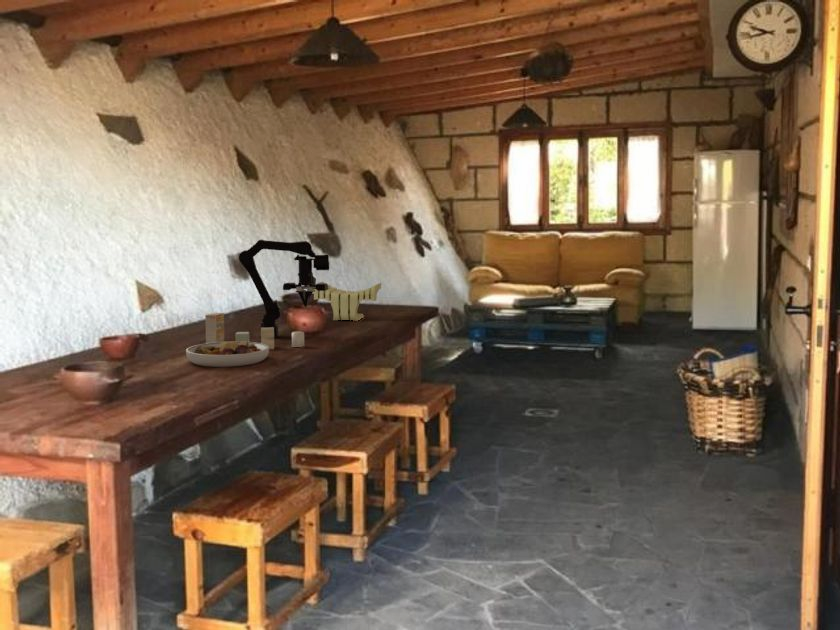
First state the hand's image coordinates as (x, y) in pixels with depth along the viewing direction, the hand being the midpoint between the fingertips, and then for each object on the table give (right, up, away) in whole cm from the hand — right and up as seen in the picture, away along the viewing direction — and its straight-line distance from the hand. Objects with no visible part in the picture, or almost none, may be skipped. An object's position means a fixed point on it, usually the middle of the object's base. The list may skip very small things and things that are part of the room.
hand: (305, 306), depth 392 cm
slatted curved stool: (+14, -6, +56) cm, 58 cm away
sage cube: (-23, -16, -20) cm, 35 cm away
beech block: (-12, -17, -28) cm, 35 cm away
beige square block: (0, -17, -25) cm, 30 cm away
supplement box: (-34, -16, -22) cm, 44 cm away
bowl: (-22, -21, -56) cm, 63 cm away
